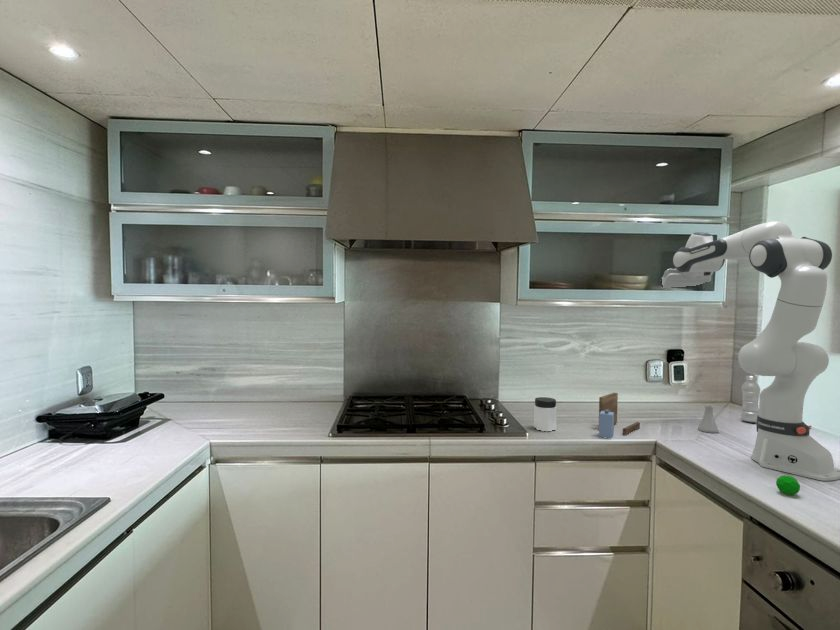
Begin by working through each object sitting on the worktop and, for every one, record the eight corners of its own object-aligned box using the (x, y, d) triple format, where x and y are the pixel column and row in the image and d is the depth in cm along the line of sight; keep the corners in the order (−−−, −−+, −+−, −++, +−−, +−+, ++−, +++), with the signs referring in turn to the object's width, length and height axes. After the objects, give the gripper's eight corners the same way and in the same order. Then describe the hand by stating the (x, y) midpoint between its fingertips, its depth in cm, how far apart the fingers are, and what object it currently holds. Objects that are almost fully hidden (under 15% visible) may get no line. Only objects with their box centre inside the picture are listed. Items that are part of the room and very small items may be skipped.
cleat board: (639, 428, 185) (640, 396, 184) (625, 435, 175) (626, 401, 174) (613, 423, 192) (614, 392, 192) (598, 429, 183) (599, 397, 182)
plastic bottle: (757, 425, 192) (759, 377, 191) (738, 421, 197) (740, 375, 196) (761, 422, 196) (763, 376, 195) (742, 419, 201) (744, 374, 200)
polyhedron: (802, 499, 120) (802, 481, 120) (779, 495, 122) (779, 478, 122) (796, 492, 124) (796, 474, 124) (773, 488, 126) (774, 471, 126)
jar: (558, 432, 178) (559, 401, 178) (538, 432, 178) (538, 401, 178) (551, 425, 187) (552, 396, 187) (531, 425, 187) (532, 396, 186)
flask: (722, 434, 178) (723, 408, 178) (701, 432, 180) (702, 407, 179) (714, 429, 185) (715, 404, 185) (694, 427, 187) (695, 403, 186)
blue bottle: (613, 435, 175) (614, 409, 174) (611, 439, 170) (612, 412, 170) (601, 433, 177) (601, 408, 177) (598, 437, 173) (599, 410, 172)
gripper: (669, 271, 191) (659, 300, 199) (717, 272, 192) (705, 300, 199) (662, 265, 197) (653, 293, 204) (708, 265, 197) (698, 294, 204)
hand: (679, 297), depth 202 cm, fingers open, 8 cm apart
